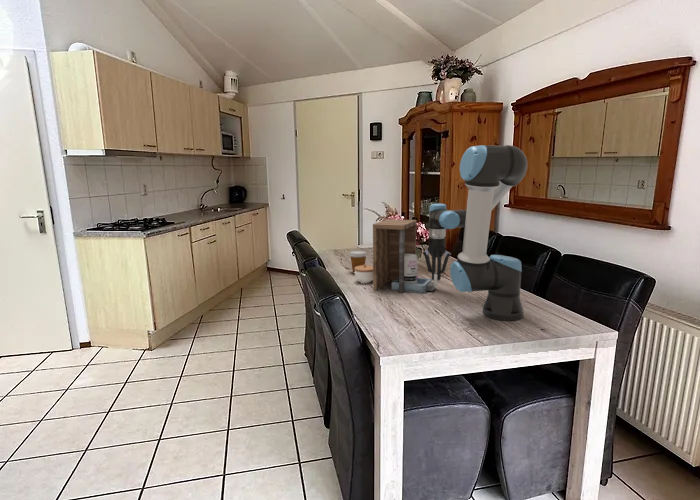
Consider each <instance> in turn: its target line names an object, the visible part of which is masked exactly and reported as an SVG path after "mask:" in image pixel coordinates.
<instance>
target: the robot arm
mask: <svg viewBox="0 0 700 500" xmlns="http://www.w3.org/2000/svg"><path fill="white" fill-rule="evenodd" d="M525 154H526V153H524V151H522V150H521V149H520V148H519V147H516V146H515V145H511V144H506V145H484V144H483V145H474V146H470V147H468V148H467V149H466V150H465V151H464V152H463V155H462V157H461V159H460V163H459V175H460V177H461V179H462V180H463V181H464V185H465V186H466V187H467V188H468V191H467V193H468V195H467V202H466V209H454V210H453V209H450V210H449V209H448V208H447V204H445V203H432V204H430V205H429V211H428V214H429V218H428V220H429V223H428V226H429V228H428V237H429V238H428V247H427V249H426V250H424V251H423V252H422V254H423V256H424V258H425V263H426V267H427V272H428V273H431V279H432V281H433V282H434V287H435V289H436V288H438V287H439V281H441V277H442V276H441V275H442V274H444V272H445V271H446V268H447V265H448V260H449V258H450V257H451V255H452V253H451V252H449V251H447V248H446V238H445V237H446V235H447V231H446V230H452V229H453V230H454V229H456V228H464V230H463V240H462V241H463V242H462V243H463V244H462V249H461V250H462V251H461V252H460V253H458V255H457V259H456V261H453V262H451V264H450V269H449V272H450V273H449V274H450V278H451V281H452V284H453V286H454V288H456V290H457V291H459V292H461V293H466V292H467V293H471V292H472V293H474V292H482V291H484V292H486V291H487V295H486V298H485V300H484V303H483V305H482V311H481V312H482V314H483V315H484V316H485V317H487V318H490V319H493V320H497V321H498V320H499V321H504V322H505V321H508V322H509V321H510V322H513V321H518V320H522V319H523V317H524V314H525V313H524V308H523V304H522V300H521V282H522V281H521V280H522V272H523V270H522V269H523V268H522V261H521V260H520V259H518V258H516V257H513V256H507V255H502V254H491V255H490V256H488V254H487V251H488V250H487V249H488V242H489V233H490V225H491V219H492V211H493V210H494V209H495V208H496V206H497V205H498V204H499V203H500V201H501V200H502V199H503V198H504V197H505V196H506V195H507V193H508V192H509V191H510V190H511V188H512V187H515V186H518V184H520V182H522V180H523V179H524V177H525V176H526V173H527V171H528V164H529V163H528V158H527V156H526V155H525ZM429 255H430V256H431V259H430V256H429ZM443 256H445V257H444V260H443V264H442V257H443ZM436 264H437V265H436ZM436 266H437V269H436Z"/></svg>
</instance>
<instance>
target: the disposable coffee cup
mask: <svg viewBox="0 0 700 500" xmlns="http://www.w3.org/2000/svg"><path fill="white" fill-rule="evenodd" d="M367 255H368V254H367V252H366V251H365V250H353V251H349V256H350V262H351V268H352V273H353V272H355V267H356V266H361V265H364V264H366V259H367Z"/></svg>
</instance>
